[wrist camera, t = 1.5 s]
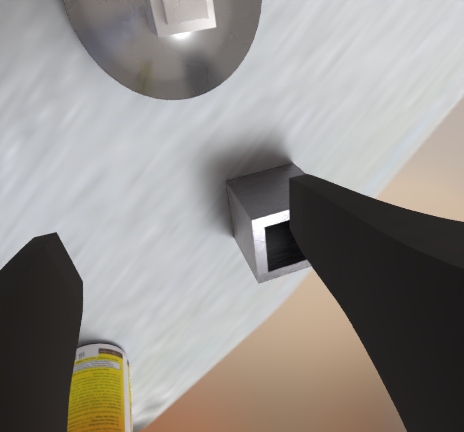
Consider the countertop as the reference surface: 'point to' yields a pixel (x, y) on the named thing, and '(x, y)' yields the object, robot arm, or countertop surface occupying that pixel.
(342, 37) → the countertop surface
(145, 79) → the ratchet
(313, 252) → the robot arm
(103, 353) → the supplement bottle
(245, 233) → the square metal tube
